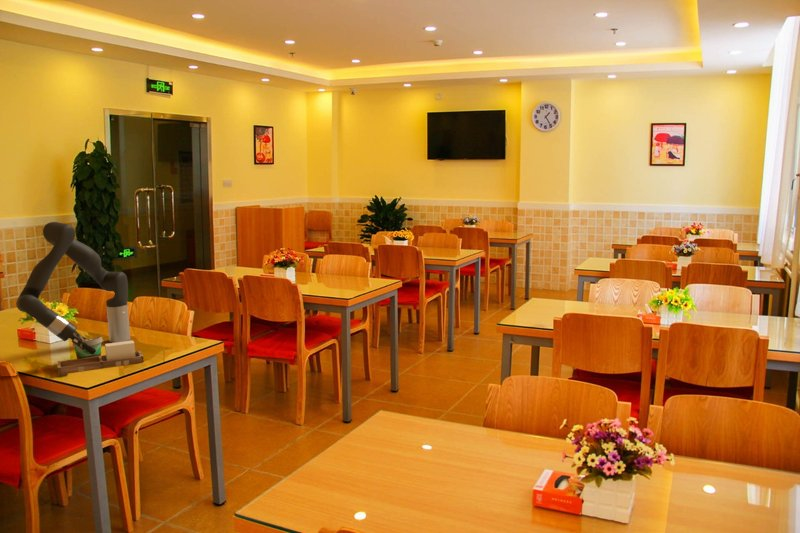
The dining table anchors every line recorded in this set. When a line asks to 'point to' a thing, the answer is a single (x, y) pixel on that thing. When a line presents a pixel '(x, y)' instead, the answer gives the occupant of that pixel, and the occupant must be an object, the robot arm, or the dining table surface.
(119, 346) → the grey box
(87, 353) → the food container
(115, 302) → the robot arm
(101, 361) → the rack
